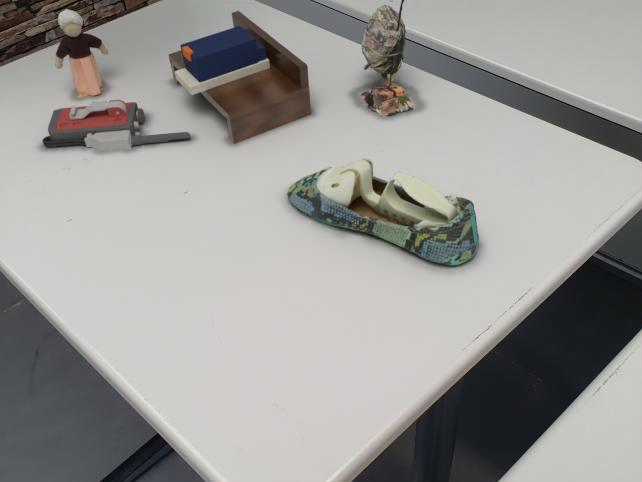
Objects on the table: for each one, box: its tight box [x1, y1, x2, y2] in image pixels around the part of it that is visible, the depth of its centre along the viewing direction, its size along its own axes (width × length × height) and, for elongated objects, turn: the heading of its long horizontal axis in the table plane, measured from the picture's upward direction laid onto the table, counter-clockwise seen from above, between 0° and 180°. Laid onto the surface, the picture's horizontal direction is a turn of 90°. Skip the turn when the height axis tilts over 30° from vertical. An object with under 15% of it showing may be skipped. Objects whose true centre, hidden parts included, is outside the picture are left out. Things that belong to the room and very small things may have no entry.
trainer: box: [175, 26, 270, 96], centre depth 94 cm, size 12×5×5 cm, turn 122°
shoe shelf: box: [167, 10, 312, 145], centre depth 97 cm, size 12×20×8 cm, turn 32°
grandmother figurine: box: [54, 8, 110, 99], centre depth 99 cm, size 8×4×13 cm, turn 129°
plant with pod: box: [360, 0, 414, 118], centre depth 91 cm, size 8×11×20 cm
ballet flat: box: [286, 157, 480, 266], centre depth 78 cm, size 9×24×8 cm, turn 60°
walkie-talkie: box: [41, 99, 191, 152], centre depth 94 cm, size 9×4×20 cm
